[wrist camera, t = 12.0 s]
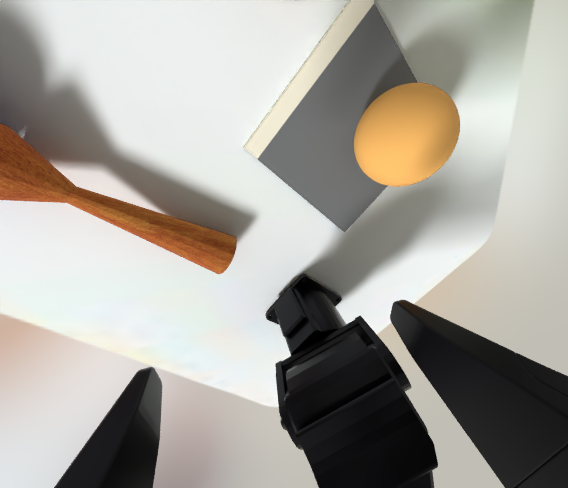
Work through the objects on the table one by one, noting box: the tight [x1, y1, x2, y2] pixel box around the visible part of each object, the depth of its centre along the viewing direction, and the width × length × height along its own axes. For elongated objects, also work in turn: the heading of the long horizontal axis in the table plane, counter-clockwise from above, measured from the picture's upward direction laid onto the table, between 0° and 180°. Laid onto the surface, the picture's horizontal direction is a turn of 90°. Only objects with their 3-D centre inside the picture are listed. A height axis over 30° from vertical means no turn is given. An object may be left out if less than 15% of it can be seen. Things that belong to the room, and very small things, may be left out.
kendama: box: [0, 124, 237, 274], centre depth 14 cm, size 6×6×20 cm
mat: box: [244, 0, 417, 232], centre depth 19 cm, size 12×12×1 cm
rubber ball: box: [354, 83, 460, 186], centre depth 16 cm, size 6×6×6 cm
